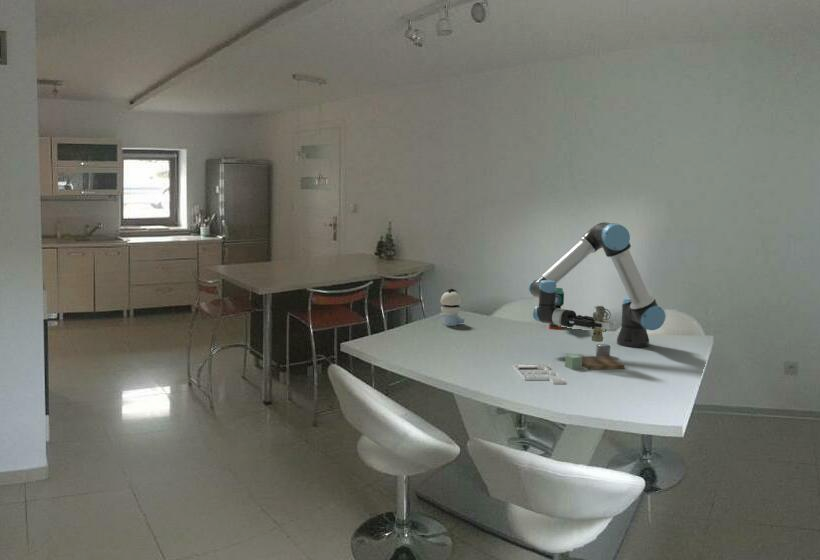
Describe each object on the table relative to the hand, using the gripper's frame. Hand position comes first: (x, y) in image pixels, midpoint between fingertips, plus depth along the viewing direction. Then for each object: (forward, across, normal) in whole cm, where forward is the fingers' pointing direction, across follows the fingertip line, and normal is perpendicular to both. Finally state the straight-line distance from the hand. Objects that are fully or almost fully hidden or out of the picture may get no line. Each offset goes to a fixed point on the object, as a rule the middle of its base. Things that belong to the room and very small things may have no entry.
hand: (612, 325), depth 288 cm
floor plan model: (-12, +34, -18) cm, 41 cm away
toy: (-106, -15, -18) cm, 108 cm away
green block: (-10, +13, -18) cm, 24 cm away
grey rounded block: (-12, -15, -18) cm, 26 cm away
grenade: (-5, 0, -8) cm, 9 cm away
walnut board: (-5, 0, -18) cm, 18 cm away
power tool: (-62, -51, -18) cm, 82 cm away
